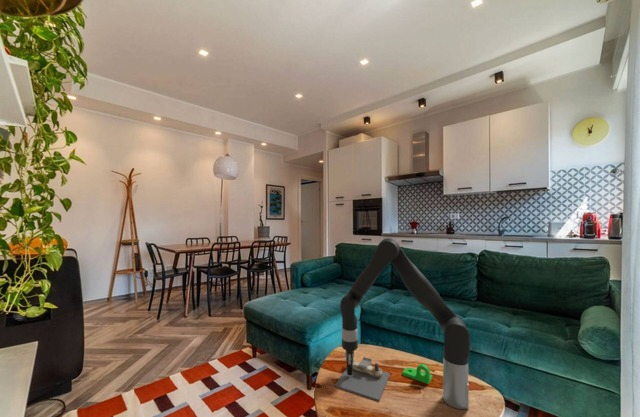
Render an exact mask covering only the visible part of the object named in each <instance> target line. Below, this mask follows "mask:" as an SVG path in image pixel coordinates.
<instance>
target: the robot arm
mask: <svg viewBox="0 0 640 417" xmlns="http://www.w3.org/2000/svg"><path fill="white" fill-rule="evenodd" d="M390 263H391V265H392V266H393V268H395V269H396V271H397V273H398V275H399V276H400V279H401V280H402V282H403V284H404V286H405V288H407V290H408V292H410V294H411V296H412V297H413V298H414V299H415V300H416V301H417V303H419V304H420V305H421V306H423V307H424V309H426V310H427V311H428V312H429V313H431V315H432V316H433V317H434V319H435V320H436V322H438V324H439V326H440V328H441V330H442V332H443V341H444V342H443V350H442V376H443V377H442V397H443V401H444V402H445V403H446V404H447V405H448V406H450V407H452V408H454V409H458V410H469V408H470V407H469V398H470V396H469V394H470V392H469V391H470V390H469V359H470V352H471V351H470V348H471V345H470V344H471V336H470V332H469V328H467V326H466V324H465V323H464V321H463V320H462V319H461V318H460V317H459V316H458V315H457V314H456V313H455V312H454V311H453V310H452V309H451V307H449V306H448V305H447V304H446V303H445V300H443V298H442V296H440V293H439V292H438V291H437V290H436V288H435V287H434V285H433V284H432V283H431V282H430V280H428V279H427V277H426V276H425V275H424V273H422V272H421V270H419V269H418V267H417V266H416V265H415V264H414V263H413V262H412V261H411V260H410V259H409V258H408V256H407V255H406V253H405V252H404V250H403V249H402V247H401V246H400V244H399V243H398V242H397V240H395V239H393V238H391V237H386V238H383V239H382V240H381V241H380V242H379V243H378V245H377V247H376V250H375V252H374V255H373V256H372V258H371V260H370V261H369V263H368V264H367V265H366V266H365V268H364V269H363V271H362V272H361V273H360V274H359V276H357V278H356V279H355V281H354V282H353V284H352V285H351V288H350V290H349V291H348V292H347V294H346V295H344V296H343V297H342V298H341V300H340V304H339V305H340V306H339V308H340V313H341V314H340V315H341V320H342V322H341V323H342V324H341V325H342V328H341V347H342V349H343V350H345V353H344V354H345V363H346V368H347V374H348V375H352V368H353V366H352V365H353V360H354V358H355V351H356V350H357V349H358V346H359V339H358V338H359V335H358V334H359V331H358V317H357V315H356V313H355V312H356V308H357V306H358V305H359V304H360V302H361V301H362V299H363V297H364V296H365V295H366V294H367V293H368V292H369V290H370V289H371V288H372V285H374V283H375V281H376V280H377V278H378V277H379V275H380V274H381V273H382V272H383V270H384V269H385V268H386V267H387V266H388V265H389V264H390Z"/></svg>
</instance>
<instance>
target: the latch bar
mask: <svg viewBox="0 0 640 417" xmlns="http://www.w3.org/2000/svg"><path fill="white" fill-rule="evenodd" d="M360 362H361V361H357V360H354V359H353V365H352V366H353V368H352V369H354V370H357V371H360V372H363V373H366V374H369V375H372V376H373V377H375V378H380V377H381V376H382V371H383V369H382V368H380V365H379V363H378V362H375V363H374V366H368V368H367V369H365V368H361V367H359V364H360Z"/></svg>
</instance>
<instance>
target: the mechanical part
mask: <svg viewBox="0 0 640 417" xmlns="http://www.w3.org/2000/svg"><path fill="white" fill-rule="evenodd" d="M402 376H404V377H407V378H411V379H413V380H416V381H418V382H421V383H424V384H426V385H429V384H430V382H431V381H432V379H433V374H431V370H430V367H429V366H427V365H426V364H424V363H420V364H419V365H418V366H417V367H416V368H414V367H405V368H404V369H403V371H402Z"/></svg>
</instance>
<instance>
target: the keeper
mask: <svg viewBox="0 0 640 417" xmlns="http://www.w3.org/2000/svg"><path fill="white" fill-rule="evenodd" d="M359 362H360V364H359V367H361V368H365V369H367V368H368V366H372V364H373V362H372V358H370V357H365V356H363V358H362V359H361V360H360V361H359ZM372 367H373V366H372Z"/></svg>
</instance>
